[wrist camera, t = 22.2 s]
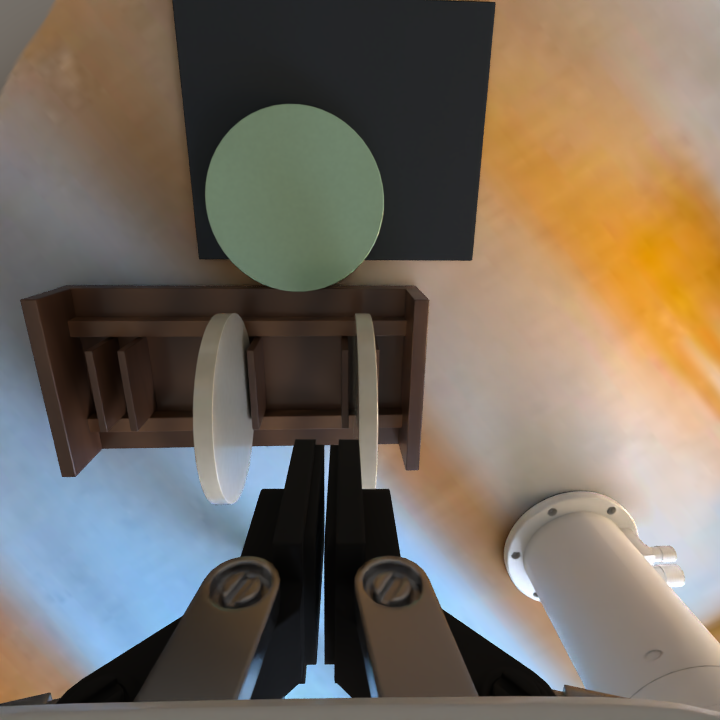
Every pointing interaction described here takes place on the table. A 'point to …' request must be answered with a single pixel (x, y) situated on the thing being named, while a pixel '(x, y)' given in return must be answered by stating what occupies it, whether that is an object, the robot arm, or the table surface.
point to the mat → (352, 99)
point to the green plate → (294, 197)
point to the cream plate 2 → (365, 396)
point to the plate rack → (180, 354)
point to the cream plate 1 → (222, 410)
